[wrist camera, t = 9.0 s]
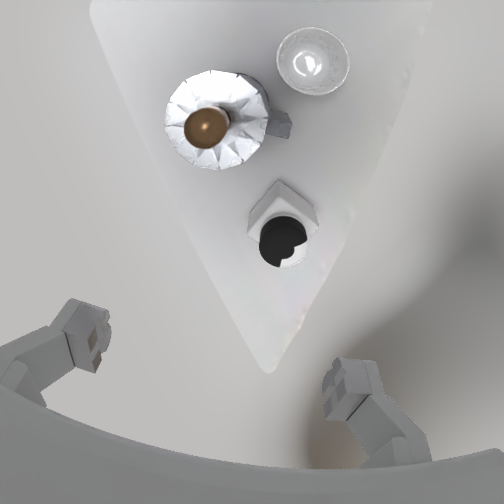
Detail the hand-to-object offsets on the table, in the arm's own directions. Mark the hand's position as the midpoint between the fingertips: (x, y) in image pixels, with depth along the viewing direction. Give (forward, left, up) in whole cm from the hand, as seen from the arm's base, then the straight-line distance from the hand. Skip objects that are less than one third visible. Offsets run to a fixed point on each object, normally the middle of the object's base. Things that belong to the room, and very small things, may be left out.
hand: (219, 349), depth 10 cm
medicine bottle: (+10, +6, -38) cm, 40 cm away
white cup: (-12, +4, -38) cm, 40 cm away
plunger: (-4, -4, -35) cm, 36 cm away
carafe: (-4, -3, -38) cm, 38 cm away
